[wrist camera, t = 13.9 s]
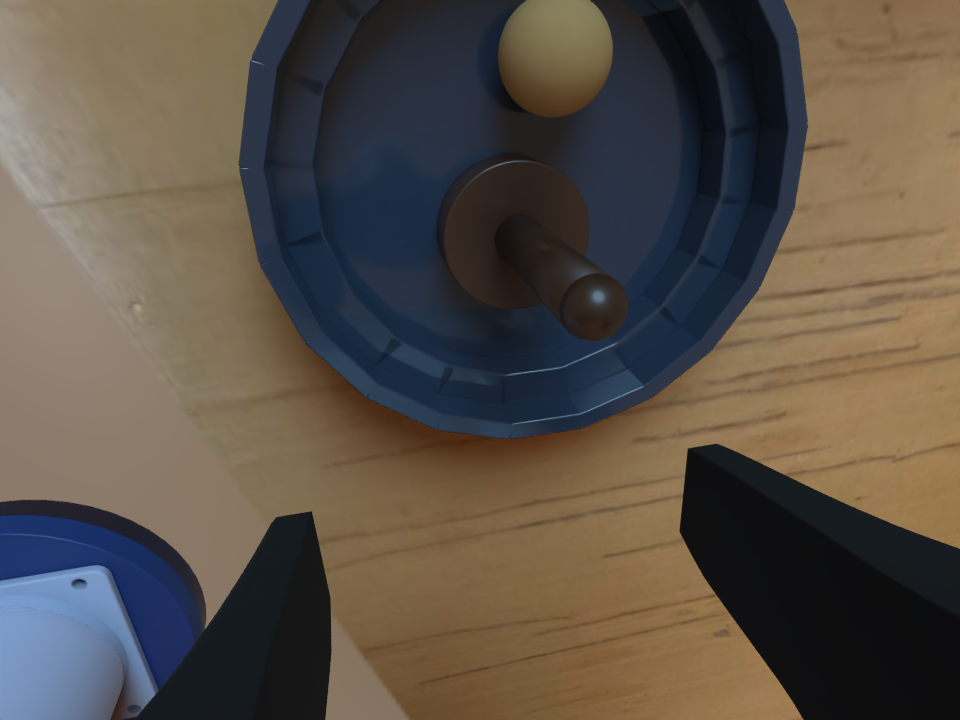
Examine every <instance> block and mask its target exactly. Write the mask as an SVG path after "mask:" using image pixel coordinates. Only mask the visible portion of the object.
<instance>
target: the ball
mask: <svg viewBox="0 0 960 720" xmlns="http://www.w3.org/2000/svg"><path fill="white" fill-rule="evenodd" d="M612 58H613V43H612V36H611V32H610V29H609V26H608V23H607V21H606V19H605V17H604V15H603V14H602V13H601V11H600V10H599V9H598V8H597V6H596V5H595V4H594V3H592V2H591V1H590V0H526V1H525V2H523V3H522V4H521V5H520V6H519V7H518V8H517V9H516V10H515V11H514V12H513V14H512V15H511V16H510V18H509V19H508V21H507V23H506V25H505V27H504V29H503V32H502V35H501V38H500V42H499V47H498V66H499V72H500V76H501V79H502V82H503V84H504V87H505V88H506V90H507V92H508V94H509V95H510V96H511V97H512V99H513V100H514V101H515V102H516V103H517V104H518V105H519V106H521V107H522V108H523V109H525V110H527V111H528V112H530V113H533V114H535V115H538V116H542V117H562V116H566V115H569V114H572V113H574V112H577V111H579V110H580V109H582V108H583V107H585V106H586V105H588V104H589V103H590V102H591V101H592V100H593V99H594V98H595V97H596V96H597V95H598V93H599V92H600V90H601V89H602V87H603V85H604V84H605V82H606V80H607V77H608V75H609V72H610V68H611V65H612Z"/></svg>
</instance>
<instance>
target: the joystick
mask: <svg viewBox="0 0 960 720" xmlns="http://www.w3.org/2000/svg"><path fill="white" fill-rule="evenodd" d="M437 238H438V244H439V248H440V251H441V254H442V256H443V258H444V260H445V262H446V264H447V266H448V268H449V270H450V272H451V274H452V275H453V277H454V278H455V280H456V282H457V283H458V284H459V285H460V286H461V288H462V289H463V290H464V291H465V292H467V293H468V294H469V295H470V296H472V297H473V298H475V299H476V300H478V301H480V302H482V303H484V304H486V305H489V306H492V307H496V308H501V309H522V308H527V307H531V306H534V305H537V304H540V303H543V304H544V305H545V306H546V307H547V308H548V309H549V311H550V312H551V313H552V314H553V315H554V316H555V317H556V319H557V320H558V321H559V322H560V323H561V324H562V325H563V327H564V328H565V329H566V330H567V331H568V332H569V333H571V334H572V335H573V336H575V337H577V338H579V339H581V340H586V341H600V340H604V339H606V338H609V337H611V336H612V335H614V334H615V333H616V332H617V331H618V330H619V329H620V328H621V327H622V325H623V324H624V322H625V320H626V317H627V313H628V299H627V295H626V293H625V290H624V288H623V287H622V286H621V284H620V283H619V282H618V281H617V280H616V279H614V278H613V277H612V276H610V275H609V274H608V273H606V272H605V271H604V270H602V269H601V268H599V267H598V266H597V265H595V264H594V263H593V262H591V261H590V260H589V259H587V258H586V257H585V253H586V250H587V246H588V241H589V218H588V212H587V209H586V206H585V202H584V200H583V198H582V196H581V194H580V192H579V191H578V189H577V188H576V186H575V185H574V184H573V183H572V182H571V180H570V179H569V178H568V177H567V176H565V175H564V174H563V173H562V172H560V171H559V170H557V169H555V168H554V167H552V166H550V165H547V164H545V163H543V162H540V161H538V160H535V159H533V158H530V157H526V156H523V155H516V154H501V155H495V156H491V157H488V158H485V159H482V160H480V161H478V162H476V163H474V164H473V165H471V166H470V167H468V168H467V169H466V170H464V171H463V172H462V173H461V174H460V175H459V176H458V177H457V178H456V179H455V180H454V181H453V183H452V184H451V186H450V187H449V188H448V190H447V192H446V194H445V196H444V198H443V200H442V203H441V205H440V209H439V213H438V218H437Z"/></svg>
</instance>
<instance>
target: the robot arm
mask: <svg viewBox="0 0 960 720" xmlns="http://www.w3.org/2000/svg"><path fill="white" fill-rule="evenodd" d="M680 533H681V535H682V537H683V539H684V541H685V543H686V545H687V547H688V549H689V551H690V553H691V555H692V557H693V558H694V560H695V562H696V564H697V565H698V567H699V569H700V571H701V573H702V574H703V576H704V578H705V579H706V581H707V582H708V583H709V585H710V586H711V588H712V589H713V591H714V592H715V593H716V595H717V596H718V598H719V599H720V600H721V602H722V603H723V605H724V606H725V607H726V609H727V610H728V612H729V613H730V614H731V616H732V617H733V618H734V620H735V621H736V623H737V624H738V625H739V627H740V628H741V629H742V631H743V632H744V634H745V635H746V636H747V638H748V639H749V640H750V642H751V643H752V645H753V646H754V647H755V649H756V650H757V651H758V653H759V654H760V656H761V657H762V658H763V660H764V661H765V662H766V664H767V665H768V667H769V668H770V669H771V671H772V672H773V673H774V675H775V676H776V678H777V679H778V680H779V682H780V683H781V685H782V686H783V688H784V689H785V691H786V692H787V694H788V695H789V697H790V698H791V700H792V701H793V703H794V704H795V706H796V708H797V709H798V711H799V713H800V714H801V716H802V718H803V719H804V720H960V549H958V548H956V547H953V546H950V545H947V544H945V543H942V542H939V541H936V540H933V539H931V538H928V537H925V536H922V535H920V534H917V533H914V532H912V531H909V530H906V529H904V528H901V527H899V526H896V525H894V524H891V523H889V522H887V521H884V520H882V519H879V518H877V517H875V516H872V515H870V514H868V513H865V512H863V511H861V510H858V509H856V508H854V507H851V506H849V505H847V504H845V503H843V502H840V501H838V500H836V499H834V498H832V497H829V496H827V495H825V494H823V493H821V492H819V491H817V490H814V489H812V488H810V487H808V486H806V485H804V484H802V483H800V482H798V481H796V480H794V479H792V478H790V477H787V476H785V475H783V474H781V473H779V472H777V471H775V470H773V469H771V468H769V467H767V466H765V465H763V464H761V463H759V462H757V461H755V460H752V459H750V458H748V457H746V456H744V455H742V454H740V453H738V452H735V451H733V450H731V449H729V448H726V447H724V446H721V445H719V444H712V445H706V446H700V447H694V448H688V453H687V463H686V473H685V483H684V493H683V503H682V513H681V522H680ZM77 579H82V580H84V581H86V582H80V581H78V580H77ZM330 662H331V604H330V594H329V589H328V584H327V580H326V575H325V570H324V566H323V561H322V557H321V552H320V547H319V543H318V538H317V533H316V529H315V524H314V519H313V515H312V511H311V512H305V513H299V514H293V515H287V516H281V517H276V519H275V520H274V521H273V522H272V523H271V525H270V527H269V529H268V530H267V532H266V534H265V536H264V538H263V539H262V541H261V543H260V545H259V546H258V548H257V550H256V552H255V553H254V555H253V557H252V558H251V560H250V562H249V563H248V565H247V566H246V568H245V570H244V572H243V573H242V575H241V576H240V578H239V580H238V581H237V583H236V584H235V586H234V587H233V589H232V590H231V592H230V593H229V595H228V597H227V598H226V600H225V601H224V603H223V604H222V606H221V607H220V609H219V610H218V612H217V613H216V615H215V616H214V618H213V619H212V621H211V622H210V623H209V625H208V626H207V628H206V629H205V630H204V632H203V633H202V634H201V636H200V637H199V639H198V640H197V641H196V643H195V644H194V645H193V647H192V648H191V650H190V651H189V652H188V654H187V655H186V657H185V658H184V659H183V661H182V662H181V663H180V664H179V666H178V667H177V668H176V670H175V671H174V672H173V673H172V675H171V676H170V677H169V679H168V680H167V681H166V682H165V684H164V685H163V686H162V687H161V688H160V690H159V689H158V687H157V684H156V682H155V679H154V677H153V674H152V672H151V669H150V667H149V664H148V662H147V660H146V657H145V655H144V652H143V650H142V647H141V645H140V642H139V640H138V637H137V635H136V632H135V630H134V627H133V625H132V623H131V620H130V618H129V615H128V613H127V610H126V608H125V605H124V603H123V600H122V598H121V595H120V593H119V590H118V588H117V586H116V583H115V581H114V578H113V576H112V573H111V572H110V570H109V569H107V568H106V567H104V566H100V565H92V566H86V567H80V568H74V569H68V570H62V571H56V572H50V573H44V574H38V575H32V576H26V577H20V578H14V579H8V580H2V581H0V720H122V719H127V718H132V717H136V718H135V719H134V720H325V716H326V706H327V695H328V684H329V673H330Z"/></svg>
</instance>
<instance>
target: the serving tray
mask: <svg viewBox="0 0 960 720" xmlns="http://www.w3.org/2000/svg"><path fill="white" fill-rule="evenodd" d="M525 1H526V0H278V2H277V4H276V6H275V8H274V10H273V12H272V15H271V17H270V19H269V21H268V23H267V25H266V27H265V29H264V32H263V34H262V36H261V38H260V40H259V42H258V44H257V46H256V49H255V51H254V53H253V55H252V60H251V61H250V67H249V76H248V85H247V94H246V103H245V112H244V121H243V130H242V139H241V148H240V157H239V167H240V169H239V171H240V176H241V180H242V185H243V190H244V195H245V199H246V204H247V209H248V214H249V218H250V223H251V228H252V232H253V237H254V242H255V247H256V251H257V256H258V261H259V263H261V264H260V266H261V268H262V270H263V272H264V273H265V275H266V277H267V279H268V280H269V282H270V284H271V286H272V287H273V289H274V291H275V292H276V294H277V296H278V298H279V299H280V301H281V303H282V305H283V306H284V308H285V310H286V312H287V313H288V315H289V317H290V318H291V320H292V322H293V324H294V325H295V327H296V329H297V331H298V332H299V334H300V336H301V338H302V339H303V341H305V343H306V345H308V346H309V347H310V348H311V349H312V350H313V351H314V352H315V353H316V354H318V355H319V356H320V357H321V358H322V359H323V360H324V361H325V362H326V363H328V364H329V365H330V366H331V367H332V368H333V369H334V370H335V371H336V372H337V373H339V374H340V375H341V376H342V377H343V378H344V379H345V380H346V381H347V382H349V383H350V384H351V385H352V386H353V387H354V388H355V389H356V390H357V391H359V392H360V393H361V394H362V395H363V396H364V397H366V398H367V399H369V400H371V401H373V402H376V403H378V404H380V405H382V406H384V407H387V408H389V409H391V410H393V411H395V412H398V413H400V414H402V415H404V416H406V417H409V418H411V419H413V420H415V421H417V422H420V423H422V424H424V425H426V426H428V427H431V428H433V429H435V430H436V429H437V430H439V431H447V432H454V433H462V434H470V435H477V436H485V437H492V438H500V439H508V440H509V439H518V438H525V437H532V436H538V435H545V434H551V433H558V432H565V431H571V430H578V429H582V428H585V427H587V426H590V425H592V424H594V423H597V422H599V421H601V420H603V419H606V418H608V417H610V416H612V415H615V414H617V413H619V412H621V411H624V410H626V409H628V408H631V407H633V406H635V405H637V404H640V403H642V402H644V401H646V400H649V399H650V398H653V397H654V396H655V395H656V394H658V393H659V392H660V391H661V390H663V389H664V388H665V387H666V386H668V385H669V384H670V383H672V382H673V381H674V380H675V379H677V378H678V377H679V376H680V375H682V374H683V373H684V372H686V371H687V370H688V369H689V368H691V367H692V366H693V365H694V364H696V363H697V362H698V361H700V360H701V359H702V358H703V357H705V356H706V355H707V354H708V353H710V351H711V350H712V349H713V348H714V347H715V346H716V344H717V343H718V342H719V340H720V339H721V338H722V337H723V335H724V334H725V333H726V331H727V330H728V329H729V327H730V326H731V325H732V324H733V322H734V321H735V320H736V318H737V317H738V316H739V315H740V313H741V312H742V311H743V309H744V308H745V307H746V306H747V304H748V303H749V302H750V300H751V299H752V298H753V297H754V295H755V294H756V293H757V291H758V290H759V287H760V286H761V284H762V282H763V280H764V277H765V275H766V273H767V271H768V268H769V266H770V264H771V262H772V259H773V257H774V255H775V252H776V250H777V248H778V246H779V243H780V241H781V239H782V237H783V234H784V232H785V230H786V227H787V225H788V223H789V221H790V218H791V216H792V214H793V210H794V208H795V202H796V196H797V189H798V183H799V177H800V171H801V165H802V159H803V152H804V146H805V140H806V134H807V128H808V124H806V123H807V122H808V120H807V111H806V102H805V94H804V85H803V76H802V67H801V58H800V50H799V41H798V34H797V33H796V31H797V29H796V27H795V24H794V22H793V20H792V18H791V15H790V13H789V11H788V9H787V6H786V4H785V2H784V0H590V1H591V2H592V3H594V4H595V5H596V6H597V8H598V9H599V10H600V11H601V13H602V14H603V15H604V17H605V19H606V21H607V23H608V26H609V29H610V32H611V36H612V43H613V58H612V65H611V68H610V72H609V75H608V77H607V80H606V82H605V84H604V85H603V87H602V89H601V90H600V92H599V93H598V95H597V96H596V97H595V98H594V99H593V100H592V101H591V102H590V103H589V104H588V105H586V106H585V107H583V108H582V109H580V110H579V111H577V112H574V113H572V114H569V115H566V116H562V117H542V116H538V115H535V114H533V113H530V112H528V111H527V110H525V109H523V108H522V107H521V106H519V105H518V104H517V103H516V102H515V101H514V100H513V99H512V97H511V96H510V95H509V94H508V92H507V90H506V88H505V87H504V84H503V82H502V79H501V76H500V72H499V66H498V47H499V42H500V38H501V35H502V32H503V29H504V27H505V25H506V23H507V21H508V19H509V18H510V16H511V15H512V14H513V12H514V11H515V10H516V9H517V8H518V7H519V6H520V5H521V4H522V3H523V2H525ZM501 154H516V155H523V156H526V157H530V158H533V159H535V160H538V161H540V162H543V163H545V164H547V165H550V166H552V167H554V168H555V169H557V170H559V171H560V172H562V173H563V174H564V175H565V176H567V177H568V178H569V179H570V180H571V182H572V183H573V184H574V185H575V186H576V188H577V189H578V191H579V192H580V194H581V196H582V198H583V200H584V202H585V206H586V209H587V212H588V218H589V241H588V246H587V250H586V253H585V257H586V258H587V259H589V260H590V261H591V262H593V263H594V264H595V265H597V266H598V267H599V268H601V269H602V270H604V271H605V272H606V273H608V274H609V275H610V276H612V277H613V278H614V279H616V280H617V281H618V282H619V283H620V284H621V286H622V287H623V288H624V290H625V293H626V295H627V299H628V313H627V317H626V320H625V322H624V324H623V325H622V327H621V328H620V329H619V330H618V331H617V332H616V333H615V334H614V335H612V336H611V337H609V338H606V339H604V340H600V341H586V340H581V339H579V338H577V337H575V336H573V335H572V334H571V333H569V332H568V331H567V330H566V329H565V328H564V327H563V325H562V324H561V323H560V322H559V321H558V320H557V319H556V317H555V316H554V315H553V314H552V313H551V312H550V311H549V309H548V308H547V307H546V306H545V305H544V304H543V303H540V304H537V305H534V306H531V307H527V308H522V309H501V308H496V307H492V306H489V305H486V304H484V303H482V302H480V301H478V300H476V299H475V298H473V297H472V296H470V295H469V294H468V293H467V292H465V291H464V290H463V289H462V288H461V286H460V285H459V284H458V283H457V282H456V280H455V278H454V277H453V275H452V274H451V272H450V270H449V268H448V266H447V264H446V262H445V260H444V258H443V256H442V254H441V251H440V248H439V244H438V238H437V218H438V213H439V209H440V205H441V203H442V200H443V198H444V196H445V194H446V192H447V190H448V188H449V187H450V186H451V184H452V183H453V181H454V180H455V179H456V178H457V177H458V176H459V175H460V174H461V173H462V172H463V171H464V170H466V169H467V168H468V167H470V166H471V165H473V164H474V163H476V162H478V161H480V160H482V159H485V158H488V157H491V156H495V155H501Z"/></svg>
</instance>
